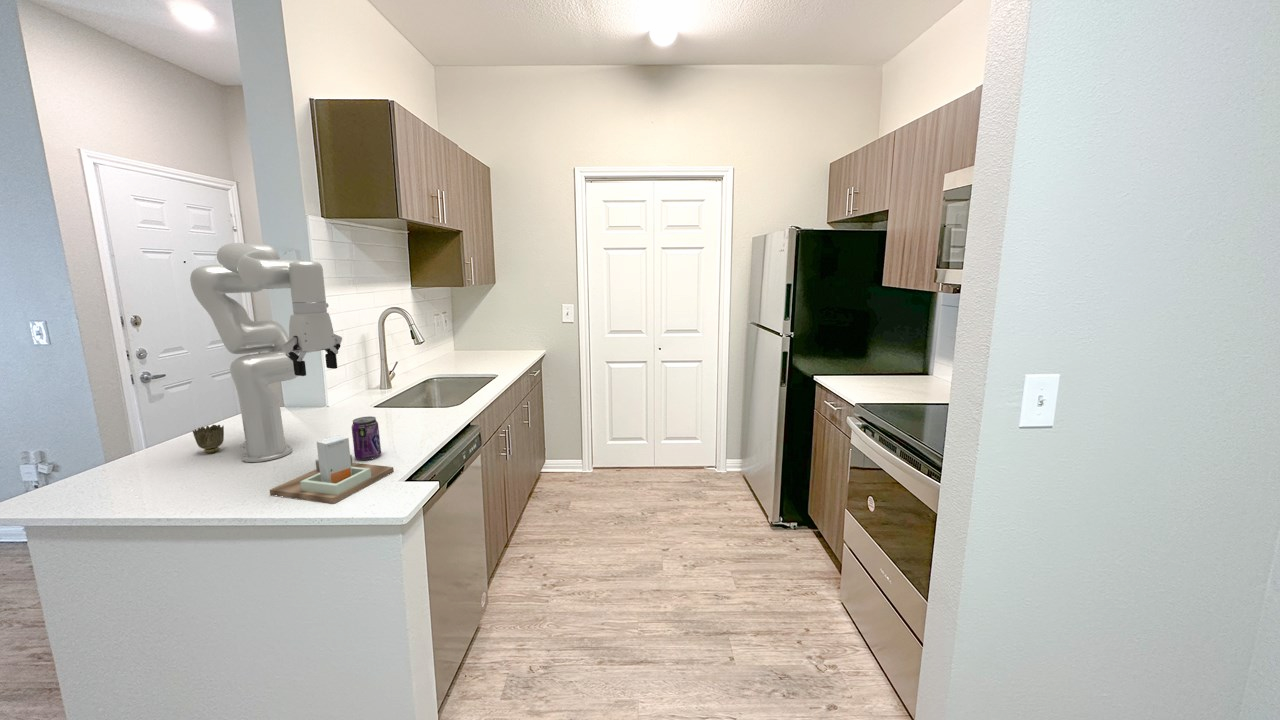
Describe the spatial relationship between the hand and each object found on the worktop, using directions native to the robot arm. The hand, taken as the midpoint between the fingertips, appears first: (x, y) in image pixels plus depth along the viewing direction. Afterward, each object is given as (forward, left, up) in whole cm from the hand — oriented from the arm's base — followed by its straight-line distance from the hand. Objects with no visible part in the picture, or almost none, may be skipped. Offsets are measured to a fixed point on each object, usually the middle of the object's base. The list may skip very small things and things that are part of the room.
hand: (316, 371), depth 135 cm
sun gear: (+2, 0, -28) cm, 28 cm away
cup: (-51, +5, -29) cm, 59 cm away
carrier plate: (+7, -5, -29) cm, 30 cm away
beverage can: (+1, +13, -29) cm, 32 cm away
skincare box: (+11, -8, -28) cm, 31 cm away
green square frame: (+11, -8, -28) cm, 31 cm away
